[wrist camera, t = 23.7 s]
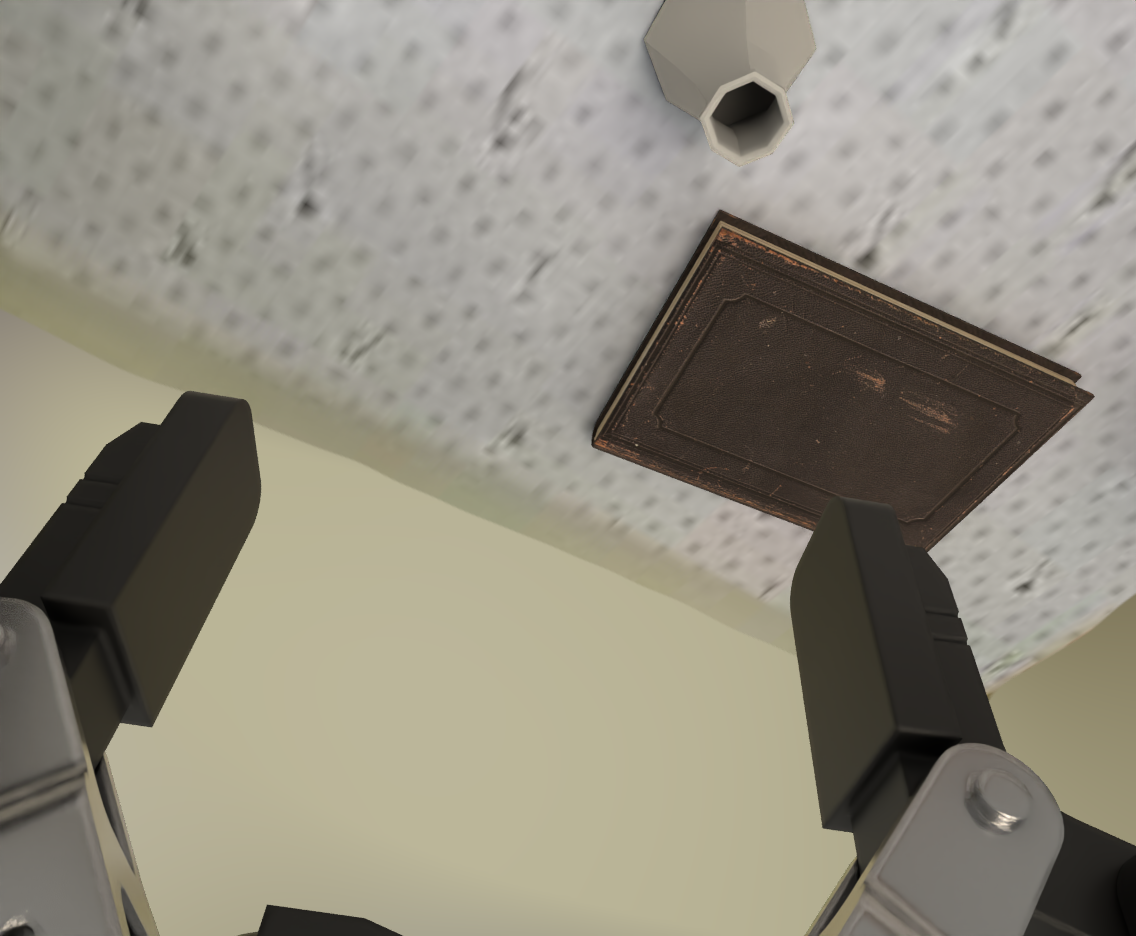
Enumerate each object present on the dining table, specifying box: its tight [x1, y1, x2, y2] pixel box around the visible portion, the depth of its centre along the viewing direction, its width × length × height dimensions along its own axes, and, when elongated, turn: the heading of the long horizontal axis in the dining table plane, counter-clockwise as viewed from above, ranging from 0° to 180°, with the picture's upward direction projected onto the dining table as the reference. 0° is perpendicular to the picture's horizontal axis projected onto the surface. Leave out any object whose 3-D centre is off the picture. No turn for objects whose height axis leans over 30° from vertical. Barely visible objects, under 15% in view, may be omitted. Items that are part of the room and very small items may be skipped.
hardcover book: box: [591, 210, 1095, 552], centre depth 50 cm, size 16×23×2 cm
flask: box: [644, 0, 816, 167], centre depth 34 cm, size 7×7×10 cm
